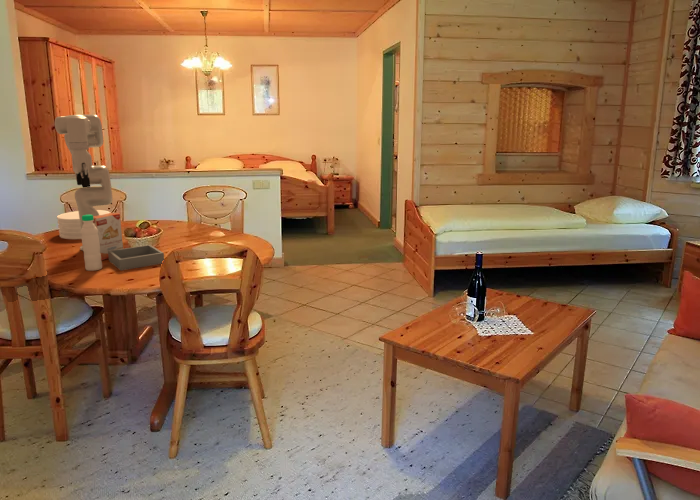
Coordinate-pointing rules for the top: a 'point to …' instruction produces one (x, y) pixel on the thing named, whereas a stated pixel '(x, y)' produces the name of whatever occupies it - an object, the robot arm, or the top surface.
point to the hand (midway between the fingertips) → (83, 186)
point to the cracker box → (108, 233)
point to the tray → (135, 257)
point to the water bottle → (90, 244)
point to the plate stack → (72, 224)
